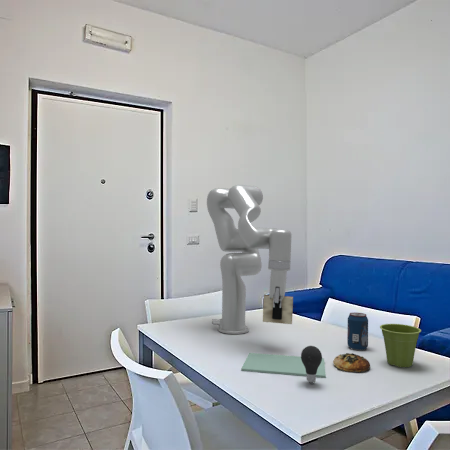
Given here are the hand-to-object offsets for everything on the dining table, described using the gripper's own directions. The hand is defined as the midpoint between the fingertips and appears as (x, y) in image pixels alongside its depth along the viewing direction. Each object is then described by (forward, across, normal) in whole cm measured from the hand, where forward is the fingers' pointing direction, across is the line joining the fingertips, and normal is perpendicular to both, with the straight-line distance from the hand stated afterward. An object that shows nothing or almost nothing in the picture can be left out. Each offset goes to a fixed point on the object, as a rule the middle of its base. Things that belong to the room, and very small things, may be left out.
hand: (277, 317), depth 143 cm
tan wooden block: (+2, 0, 0) cm, 2 cm away
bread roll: (+10, +13, +24) cm, 29 cm away
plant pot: (+10, +7, +39) cm, 41 cm away
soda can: (+11, -8, +28) cm, 31 cm away
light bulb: (+10, +30, +12) cm, 34 cm away
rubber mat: (+10, +17, +4) cm, 20 cm away
